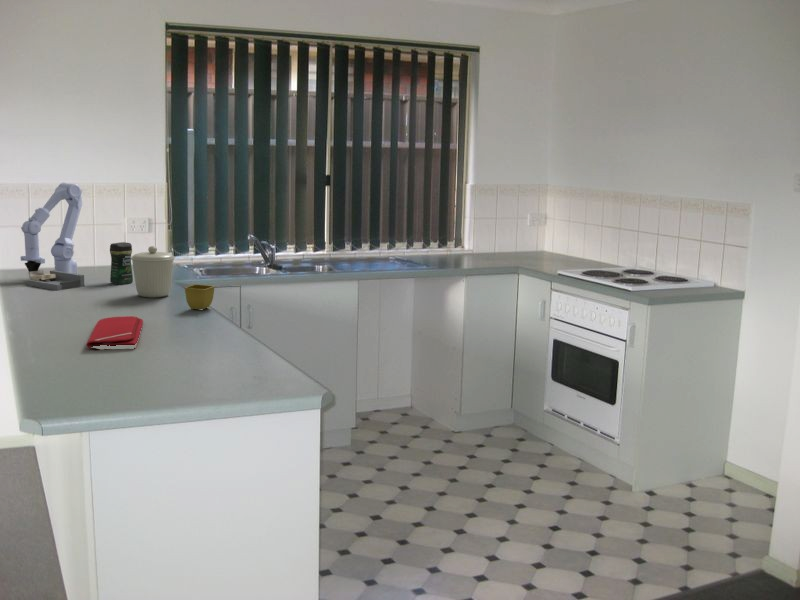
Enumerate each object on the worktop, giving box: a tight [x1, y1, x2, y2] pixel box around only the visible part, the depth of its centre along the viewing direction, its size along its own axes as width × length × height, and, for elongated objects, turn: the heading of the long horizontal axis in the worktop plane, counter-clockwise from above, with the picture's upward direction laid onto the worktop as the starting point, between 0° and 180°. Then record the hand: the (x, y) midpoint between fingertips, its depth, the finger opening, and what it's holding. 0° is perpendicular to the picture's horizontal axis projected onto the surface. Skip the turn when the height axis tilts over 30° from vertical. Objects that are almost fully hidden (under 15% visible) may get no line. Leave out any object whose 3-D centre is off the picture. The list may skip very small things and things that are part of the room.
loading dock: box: [26, 269, 85, 291], centre depth 392 cm, size 14×20×6 cm
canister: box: [130, 245, 176, 299], centre depth 373 cm, size 18×18×21 cm
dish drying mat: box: [86, 316, 144, 348], centre depth 302 cm, size 16×41×4 cm, turn 13°
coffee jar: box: [109, 241, 134, 285], centre depth 401 cm, size 10×8×19 cm
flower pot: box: [184, 283, 215, 310], centre depth 349 cm, size 9×9×9 cm
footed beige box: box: [28, 269, 56, 282], centre depth 396 cm, size 8×9×5 cm
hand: (33, 277), depth 400 cm, fingers closed
